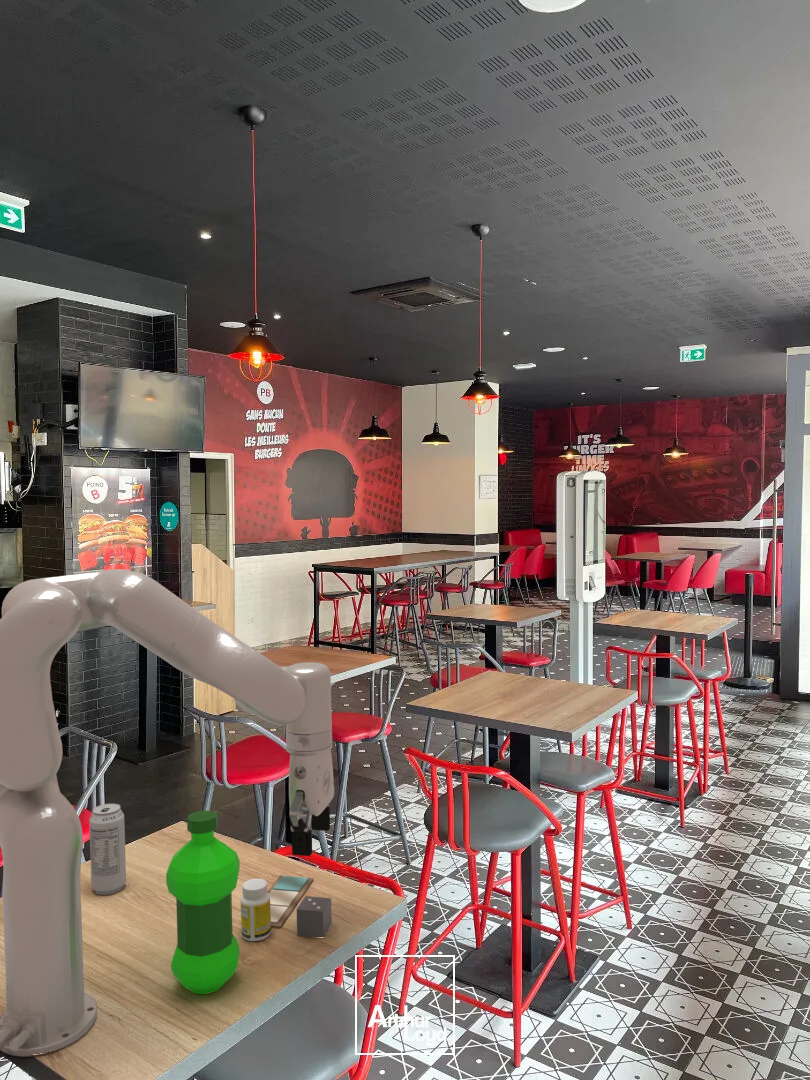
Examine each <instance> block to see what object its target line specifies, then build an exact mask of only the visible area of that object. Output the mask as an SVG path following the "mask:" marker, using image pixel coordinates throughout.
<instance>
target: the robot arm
mask: <svg viewBox="0 0 810 1080" xmlns="http://www.w3.org/2000/svg"><path fill="white" fill-rule="evenodd" d="M107 626H112V628H114V629H116V630H118V631H120V632H121V633H123V634H124V635H125V636H127V637H128V638H130V639H132V640H133V641H135V642H136V643H138V644H140V645H141V646H143V647H144V648H146V649H147V650H148V651H150V652H151V653H153V654H154V655H156V656H158V657H159V658H161V659H162V660H163V661H165V662H167V663H168V664H169V665H171V666H172V667H174V668H176V670H178V671H180V672H182V673H184V674H186V675H187V676H189V677H191V678H193V679H195V680H197V681H200V682H202V683H204V684H207V685H209V686H211V687H213V688H215V689H218V690H219V691H221V692H222V693H224V694H226V695H228V696H229V697H230V698H233V700H234V702H235V704H236V705H237V706H238V707H239V709H241V710H243V711H244V712H246V713H248V714H250V715H253V716H255V717H257V718H259V719H261V720H264V721H265V722H266V723H269V724H272V725H275V726H285V746H286V749H285V750H286V752H287V753H290V754H289V769H288V770H289V773H288V774H289V775H288V800H289V801H288V803H289V814H288V815H289V819H290V821H289V825H290V833H291V854H292V856H293V855H294V856H302V857H303V856H305V857H311V856H312V854H313V831H320V832H321V831H323V832H328V831H330V829H331V808H330V805H331V801H332V800H333V798H334V796H335V781H334V767H333V758H332V757H333V755H332V748H333V726H332V725H333V723H332V719H333V718H332V687H331V686H332V685H331V684H332V683H331V680H332V679H331V671H330V668H329V667H328V666H327V665H326V664H324V663H321V662H313V661H310V662H299V663H294V664H291V665H288V666H279V665H278V664H276V663H275V662H274V661H273V660H271V659H269V658H268V657H267V656H265V655H263V654H262V653H261V652H259V651H258V650H256V649H254V648H253V647H251V646H250V645H248V644H247V643H245V642H243V641H242V640H240V639H239V638H237V636H234V635H233V634H232V633H231V632H229V631H228V630H226V629H225V628H223V627H221V626H220V625H218V624H217V623H215V622H214V621H212V620H211V619H209V618H208V617H206V616H205V615H204V614H203V613H201V612H200V611H198V610H197V609H195V608H193V607H192V606H191V605H190V604H188V603H187V602H185V601H184V600H183V599H181V598H180V597H179V596H177V595H176V594H175V593H174V592H172V591H170V590H169V589H168V588H166V587H165V586H163V585H162V584H161V583H159V582H158V581H157V580H154V579H153V578H151V577H150V576H149V575H146V574H144V573H142V572H139V571H133V570H128V569H121V568H119V569H118V568H116V569H115V568H114V569H105V570H98V571H92V572H91V571H90V572H85V573H83V572H82V573H77V574H67V575H59V576H51V577H41V578H34V579H28V580H25V581H23V582H21V583H18V584H16V586H13V587H12V588H11V590H9V591H8V593H7V594H6V596H5V597H4V599H3V601H2V606H1V618H0V849H1V854H2V867H3V868H2V869H3V875H2V922H3V939H4V940H3V942H4V968H5V971H4V972H5V993H6V994H5V995H6V997H5V998H6V1010H5V1011H4V1012H3V1013H2V1017H1V1018H0V1052H2V1053H5V1054H7V1055H10V1056H14V1057H32V1056H31V1055H33V1054H40V1053H42V1055H44V1054H43V1053H46V1054H48V1053H47V1052H50V1053H53V1052H55V1051H58V1050H60V1049H61V1050H62V1049H63V1048H65V1047H68V1046H69V1045H71V1044H73V1043H74V1042H76V1041H78V1040H79V1039H80V1038H81V1037H83V1036H84V1035H85V1034H86V1033H87V1032H89V1030H90V1029H91V1028H92V1026H93V1025H94V1023H95V1021H96V1019H97V1015H98V1009H97V1008H98V1006H97V1002H96V1000H95V999H94V998H93V996H91V995H90V994H88V993H86V992H85V982H84V981H85V979H84V955H83V953H84V951H83V948H84V946H83V921H82V901H81V900H82V899H81V897H82V896H81V895H82V894H81V869H82V867H81V866H82V865H81V864H82V857H83V843H84V840H83V839H84V836H83V835H84V834H83V827H82V822H81V820H80V817H79V815H78V813H77V811H76V810H75V808H74V806H73V805H72V804H71V803H70V801H69V800H68V799H67V798H66V797H65V796H64V795H63V794H62V793H61V791H60V787H59V783H58V782H59V781H58V776H57V773H58V771H59V769H60V767H61V763H62V759H63V743H62V739H61V734H60V730H59V727H58V726H59V725H58V721H57V716H56V711H55V705H54V701H53V692H52V684H51V668H52V667H51V666H52V663H53V661H54V658H55V656H56V655H57V654H58V652H59V651H60V649H61V648H62V647H64V645H65V644H67V642H69V641H71V639H72V638H73V637H74V636H75V634H76V633H77V632H79V631H80V632H81V631H87V630H92V629H96V628H101V627H107ZM301 817H305V820H304V819H303V818H301ZM52 1051H53V1052H52Z"/></svg>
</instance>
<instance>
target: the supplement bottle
mask: <svg viewBox="0 0 810 1080" xmlns="http://www.w3.org/2000/svg"><path fill="white" fill-rule="evenodd" d="M268 890H269V889H268V882H267V880H266V879H264V878H251V879H248V880H246V881H245V882H243V884H242V892H241V893H242V895H241V897H240V927H241V929H240V930H241V936H242V938H243V939H244V940H245V941H248V942H259V941H264V940H265V939H267V938H268V937H269V936H270V935H271V932H272V927H271V911H270V895H269V893H268V892H267V891H268Z"/></svg>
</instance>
